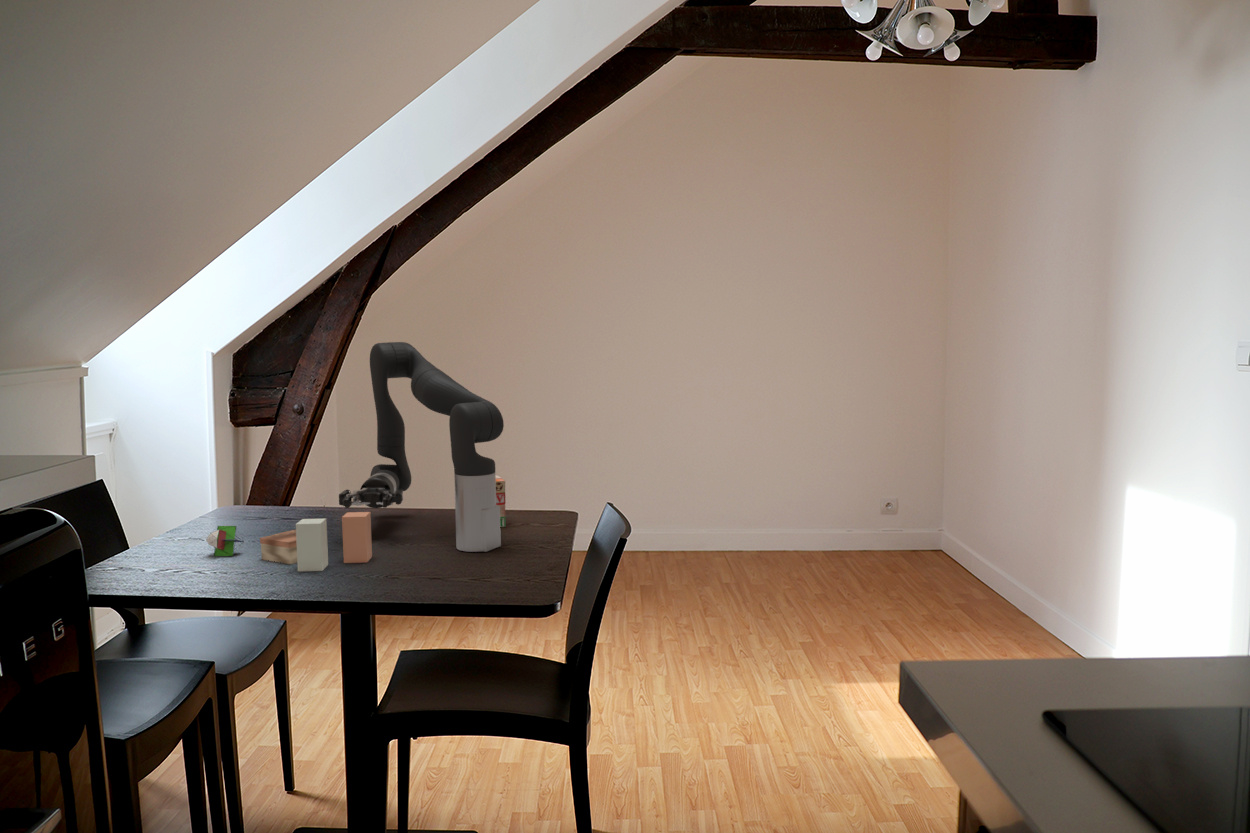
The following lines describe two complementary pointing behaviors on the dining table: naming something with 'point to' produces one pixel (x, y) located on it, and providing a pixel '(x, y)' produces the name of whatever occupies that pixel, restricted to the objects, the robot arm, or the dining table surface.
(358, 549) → the terracotta block
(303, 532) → the sage block
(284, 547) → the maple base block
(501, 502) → the stack of blocks
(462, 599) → the dining table surface
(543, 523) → the dining table surface
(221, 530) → the geometric puzzle
